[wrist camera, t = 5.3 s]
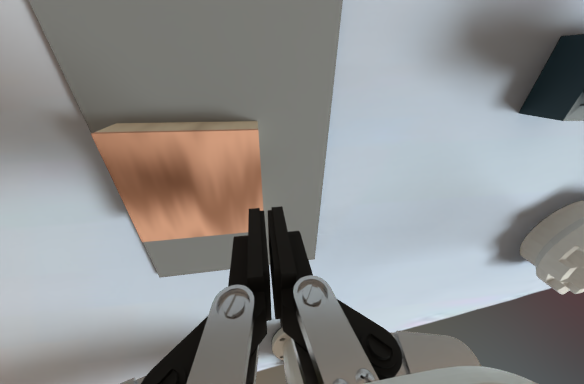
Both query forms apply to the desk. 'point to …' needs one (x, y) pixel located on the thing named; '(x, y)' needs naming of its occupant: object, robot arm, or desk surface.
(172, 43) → the mat
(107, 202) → the desk surface
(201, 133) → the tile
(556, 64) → the watch
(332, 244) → the desk surface
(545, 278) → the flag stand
